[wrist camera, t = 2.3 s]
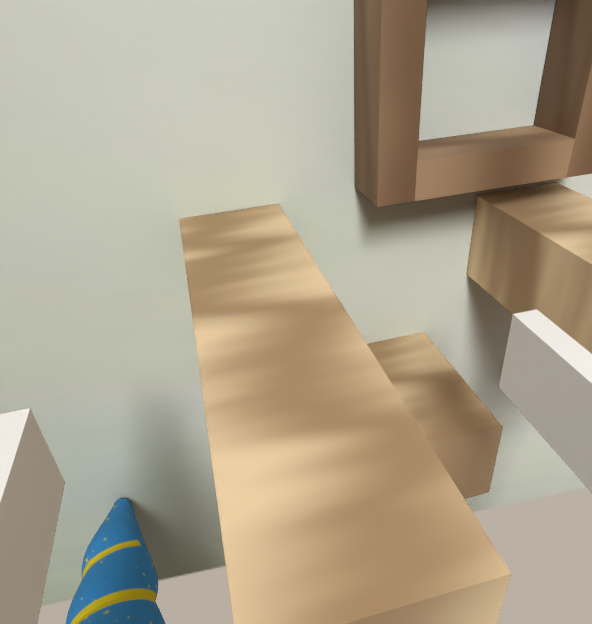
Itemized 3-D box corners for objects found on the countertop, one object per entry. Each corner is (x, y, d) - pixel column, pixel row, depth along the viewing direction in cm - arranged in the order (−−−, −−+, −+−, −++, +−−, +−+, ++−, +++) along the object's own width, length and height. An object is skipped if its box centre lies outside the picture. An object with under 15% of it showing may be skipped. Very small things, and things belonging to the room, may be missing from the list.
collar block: (354, 186, 21) (377, 207, 19) (353, -110, 16) (384, -127, 14) (557, 156, 23) (598, 172, 20) (616, -122, 17) (679, -139, 15)
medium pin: (466, 274, 25) (625, 412, 16) (476, 195, 23) (665, 309, 14) (539, 260, 25) (727, 387, 17) (556, 182, 23) (780, 284, 15)
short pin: (350, 406, 28) (404, 514, 22) (350, 347, 25) (409, 450, 20) (419, 390, 28) (488, 492, 22) (424, 332, 26) (502, 427, 20)
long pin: (196, 305, 22) (267, 764, 9) (178, 218, 20) (238, 656, 7) (286, 289, 23) (476, 693, 9) (278, 203, 21) (511, 573, 7)
